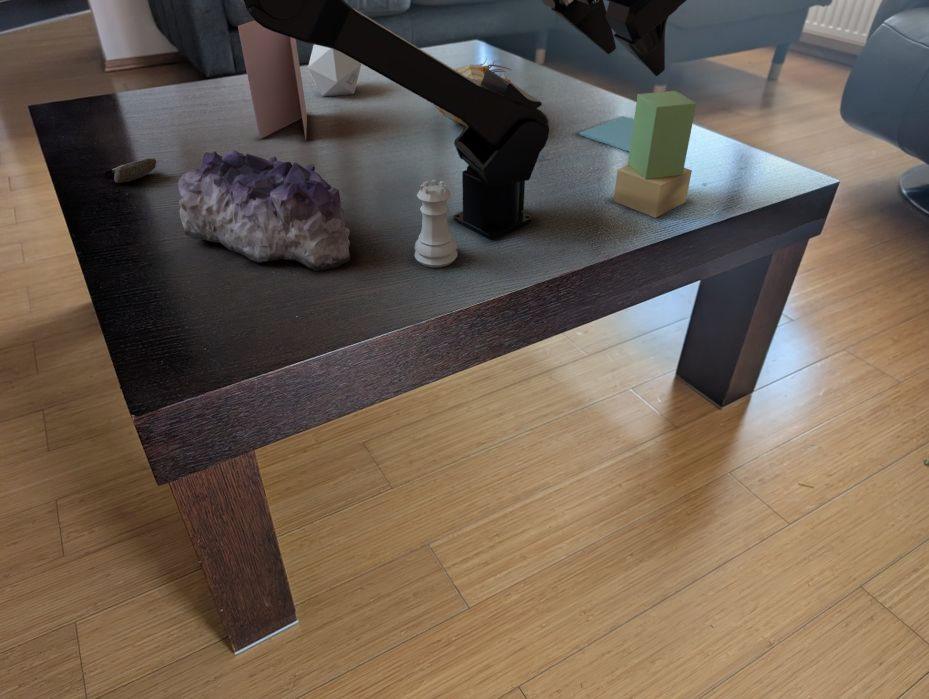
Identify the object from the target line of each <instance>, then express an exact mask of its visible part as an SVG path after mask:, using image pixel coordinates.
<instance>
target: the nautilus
mask: <svg viewBox="0 0 929 699" xmlns="http://www.w3.org/2000/svg"><path fill="white" fill-rule="evenodd" d="M487 60H488V58H485V61H484V62H483V63H480V64H471V63H470V64H465V65H463V66H459V67H456V68H453V69H454V70H456V71H457V72H459V73H461V74H462V75H464V76H466V77H469V78H472V79H476V80H480V81H482V80H483V77H484V75H485V72H486V69H489V70H491V71H492V72H494V73H506V71H505V70H503V69H506V70H509V71H513V69H511V68H508V67H506V66H502V65H497V64H495V62H496V60H493V61H492V64H487V65H485V64H486V62H487ZM492 67H495V68H494V69H491V68H492ZM499 76H500V77H502V78H503V79H505V80H506V81H508V82H509V83H511V84H514V85H516V84H515V83H513V82H512V81H511V79H509V78H508V77H506V76H505V75H499ZM433 105H434V104H433ZM434 107H435V108H436V109H437V111H438V112H440V113H441V115H442V116H443V117H444V118H447V119H448V120H450V121H453V122H454V121H455V122H456V123H459V124H461V125H463V126H465V127H467V124H466V123H464V122H463V121H462V120H461V119H459V118H458V117H456V116H454V115H452V114H450V113H449V112H447V111H445V110H443V109H442V108H440V107H438V106H436V105H434Z"/></svg>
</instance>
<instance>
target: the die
mask: <svg viewBox="0 0 929 699" xmlns="http://www.w3.org/2000/svg"><path fill="white" fill-rule="evenodd" d="M361 67H362V64H361V63H359V62H358V61H356V60H354V59H352V58H350V57H349V56H347V55H345V54H343V53H342V52H340V51H338V50H335V49H332V48H328V47H323V46H319V45H315V44H313V45H312V49H311V54H310V58H309V61H308V65H307V70H308V73H309V74H310V76H311V78H312V80H313V83H314V84H315V86H316V88H317V90H318V92H319V93H320V95H321V97H333V96H349V95H355V92H356V88H357V83H358V80H359V75H360V71H361Z"/></svg>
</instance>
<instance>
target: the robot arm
mask: <svg viewBox="0 0 929 699" xmlns="http://www.w3.org/2000/svg"><path fill="white" fill-rule="evenodd" d="M606 1H607V2H608V4H607V8H606V6H605V2H604V0H541V2H542V3H543V5H544V6H547V7H549V8H551V11H552V12H553V13H555V14H556V15H558V16H559V17H560V18H562V19H563V20H564V21H565V22H566V23H568V24H569V25H570V26H571V27H573V28H575V30H577V31H578V32H579V33H580V34H582V35H583V36H584V37H586V38H587V39H588V40H589V41H591V42H592V44H594V45H595V46H597V47H598V48H599V49H600V50H602V52H604V53H605V54H607V55H611V54H612V53H613V52H614V51H615V50H616V49H617V46H616V41H618V42H619V44H620V45H622V46H623V47H624V48H625V49H626V50H627V51H628V52H629V53H630V54H631V55H632V56H633V57H634V58H635V59H636V60H637V61H638V62H639V63H640V64H641V65H642V66H643V67H644V68H645V69H646V70H647V71H648V72H649V73H651V74H652V75H653V76H655V77H658V76H660V75H661V74H662V73H663V72H664V71H665V70H666V69H665V68H666V28H667V27H666V26H667V21H668V19H669V17H670V16H672V14H674V13H675V12H676V11H677V10H678V9H679V8H680V7H681V6H682V5H683V4H684V3H686V2H687V0H606ZM240 2H241V3H242V5H243V6H244V8H245V10H246V11H247V12H248V14H249V15H250V16H251V18H252V19H253V21H256V22H257V23H259V24H260V25H261V26H263V27H264V28H266V29H269V30H271V31H274V32H277V33H280V34H282V35H285V36H288V37H291V38H294V39H296V41H301V42H303V43H307V44H310V45H314V44H315V45H319V46H323V47H328V48H332V49H335V50H338V51H340V52H342V53H343V54H345V55H347V56H349V57H350V58H352V59H354V60H356V61H358V62H359V63H361V65H363V66H365V67H367V68H368V69H370V70H372V71H374V72H376V73H377V74H379V75H381V76H382V77H385V78H386V79H388V80H389V81H391V82H393V83H395V84H397V85H398V86H400V87H402V88H404V89H405V90H408V91H409V92H412V93H413V94H414V95H417V96H418V97H420V98H422V99H423V100H425V101H427V102H428V103H430V104H433V105H436V106H438V107H440V108H442V109H443V110H445V111H447V112H449V113H450V114H452V115H454V116H456V117H458V118H459V119H461V120H462V121H463V122H464V123H466V124H467V126H465V128H464V129H463V130H462V131H461V132H460V133H459V135H458V136H457V137H456V138H455V139H454V141H453V144H454V147H455V150H456V152H457V155H458V157H459V159H460V160H463V162H465V163H466V165H467V167H466V170H463V171H462V172H461V174H462V175H461V176H462V178H461V182H462V211H460V212H458V213H456V214H454V215H453V216H452V218H453V221H454V222H456V223H458V224H460V225H462V226H464V227H466V228H468V229H470V230H472V231H474V232H476V233H478V234H479V235H481V236H483V237H486V238H488V239H492V240H493V239H496V238H499V237H501V236H503V235H505V234H507V233H509V232H511V231H513V230H516V229H518V228H520V227H522V226H525V225H527V224H529V223H531V222H532V220H533V218H532V217H533V216H532V215H529V214H528V213H525V212H523V211H524V207H525V191H526V190H525V189H526V187H525V186H526V181H529V180H530V179H531V177H532V174H533V171H534V169H535V166H536V164H537V161H538V159H539V156H540V154H541V151H542V150H543V149H544V148H545V146H546V145H547V141H548V140H549V134H550V126H549V123H550V120H549V117H548V116H547V115H546V114H545V113H544V112H543V111H542V110H541V109H539V107H542V105H543V104H542V102H541V101H540V100H539V99H537V98H536V97H534V96H533V95H531V94H530V93H528V92H526V91H525V90H524V89H522V88H520V87H519V86H517V85H516V84H515V83H513V84H511V83H512V82H511V83H509V82H508V81H506V80H505V79H503V78H502V77H500V76H501V75H498V74H497V73H496V72H493V71H491V70H492V69H486V72H485V75H484V77H483V80H482V81H480V80H476V79H472V78H469V77H466V76H464V75H462V74H461V73H459V72H457V71H456V70H454V69H455V68H452V67H451V66H449V65H448V64H446V63H445V62H443V61H441V60H439V59H438V58H436V57H434V56H433V55H431V54H430V53H428V52H426V51H425V50H423V49H421V48H419V47H418V46H417V45H415V44H413V43H411V42H410V41H409V40H406V39H405V38H403V37H401V36H400V35H399V34H397V33H395V32H394V31H392V30H390V29H388V28H387V27H385V26H384V25H382V24H380V23H379V22H377V21H376V20H373V19H372V18H370V17H369V16H367V15H365V14H364V13H362V12H361V11H359V10H357V9H356V8H354V7H352V6H351V5H350V4H349V3H347V1H345V0H240ZM613 32H614V33H613ZM615 40H616V41H615ZM514 84H515V85H514Z"/></svg>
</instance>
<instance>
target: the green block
mask: <svg viewBox="0 0 929 699" xmlns="http://www.w3.org/2000/svg"><path fill="white" fill-rule="evenodd" d="M696 108H697V102H695V101H693V100H691V98H689V97H687V96H685V95H684V94H682V93H680V92H678V91H677V90H668V91H657V92H647V93H638V94H637V96H636V104H635V111H634V118H633V120H634V124H633V131H632V138H631V145H630V152H629V154H628V161H627V165H630V166H631V167H632V168H633V169H634V170H635V171H636V172H638V173H639V174H640V175H641V176H642V177H643V178H644V179H652V178H661V177H669V176H678V175H683V170H684V168H685V165H686V160H687V154H688V148H689V144H690V139H691V133H692V129H693V123H694V118H695V114H696Z"/></svg>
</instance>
